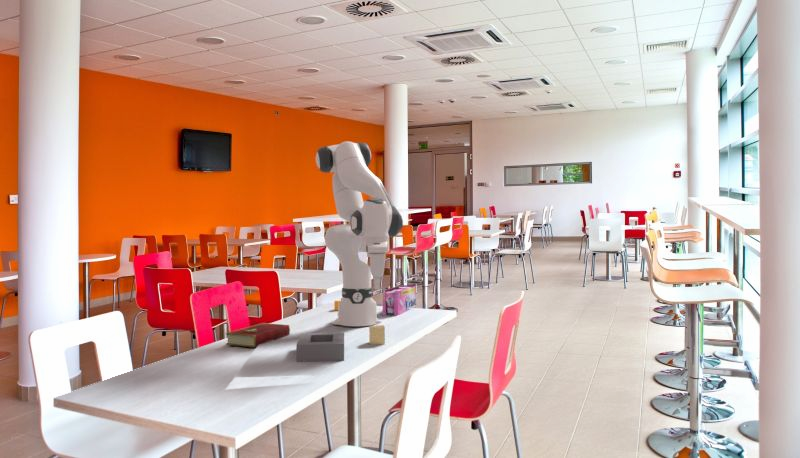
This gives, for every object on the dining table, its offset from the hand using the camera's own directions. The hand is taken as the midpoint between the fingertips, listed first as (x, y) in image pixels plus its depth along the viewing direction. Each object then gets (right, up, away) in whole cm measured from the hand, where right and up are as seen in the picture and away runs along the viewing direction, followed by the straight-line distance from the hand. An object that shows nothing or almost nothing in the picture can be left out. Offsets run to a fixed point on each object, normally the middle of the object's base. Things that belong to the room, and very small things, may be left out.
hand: (376, 287), depth 197 cm
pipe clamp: (-20, -19, +67) cm, 72 cm away
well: (-17, -19, -14) cm, 29 cm away
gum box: (+8, -19, +55) cm, 59 cm away
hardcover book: (-42, -20, +11) cm, 48 cm away
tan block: (0, -19, 0) cm, 19 cm away
